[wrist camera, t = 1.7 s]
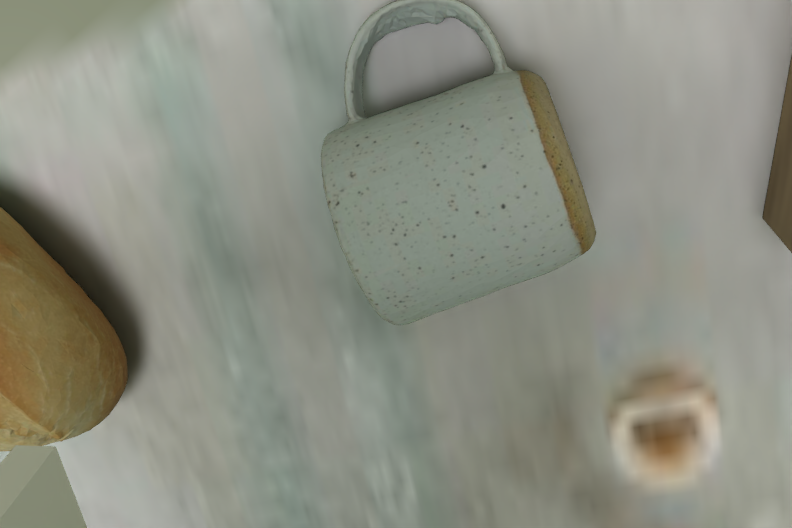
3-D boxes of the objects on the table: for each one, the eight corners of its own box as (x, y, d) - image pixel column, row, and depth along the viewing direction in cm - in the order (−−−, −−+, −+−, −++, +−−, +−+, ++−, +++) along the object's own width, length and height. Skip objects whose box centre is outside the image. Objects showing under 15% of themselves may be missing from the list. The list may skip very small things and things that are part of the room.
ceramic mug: (591, 205, 29) (621, 297, 22) (411, 267, 31) (389, 368, 25) (500, -51, 25) (504, -33, 18) (303, 42, 28) (241, 88, 21)
